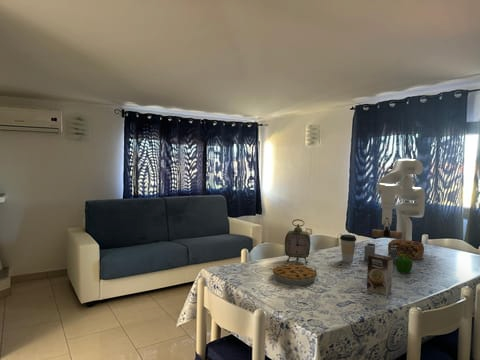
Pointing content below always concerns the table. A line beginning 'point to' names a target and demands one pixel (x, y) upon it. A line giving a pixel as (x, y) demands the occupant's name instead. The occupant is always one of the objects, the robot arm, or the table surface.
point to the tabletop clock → (297, 243)
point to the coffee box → (379, 274)
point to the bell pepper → (404, 264)
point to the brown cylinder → (392, 235)
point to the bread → (407, 248)
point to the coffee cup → (347, 247)
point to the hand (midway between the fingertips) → (386, 236)
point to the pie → (294, 274)
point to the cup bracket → (368, 250)
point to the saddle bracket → (393, 254)
